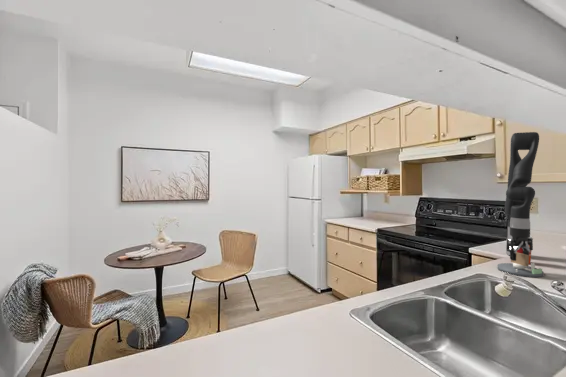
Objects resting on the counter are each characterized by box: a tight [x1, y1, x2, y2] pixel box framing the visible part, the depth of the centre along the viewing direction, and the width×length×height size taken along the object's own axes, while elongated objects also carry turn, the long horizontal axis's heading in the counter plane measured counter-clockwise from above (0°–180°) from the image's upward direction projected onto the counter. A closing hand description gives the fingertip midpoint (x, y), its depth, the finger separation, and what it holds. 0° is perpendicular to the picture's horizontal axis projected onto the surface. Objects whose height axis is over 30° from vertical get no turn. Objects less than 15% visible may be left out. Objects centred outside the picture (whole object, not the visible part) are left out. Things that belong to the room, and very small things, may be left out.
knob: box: [510, 252, 536, 271], centre depth 130 cm, size 10×5×7 cm, turn 9°
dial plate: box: [496, 262, 544, 279], centre depth 131 cm, size 17×17×4 cm
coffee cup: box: [517, 235, 534, 265], centre depth 146 cm, size 8×8×15 cm
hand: (519, 259), depth 131 cm, fingers open, 8 cm apart
